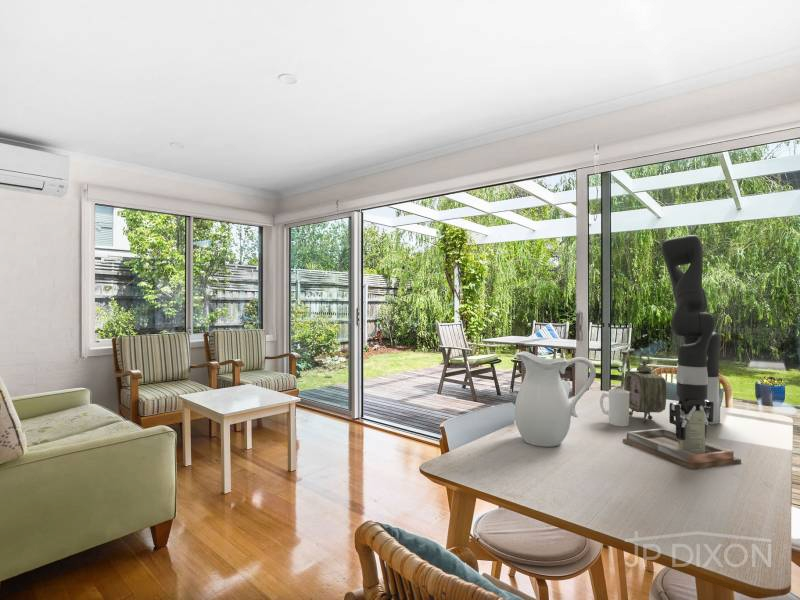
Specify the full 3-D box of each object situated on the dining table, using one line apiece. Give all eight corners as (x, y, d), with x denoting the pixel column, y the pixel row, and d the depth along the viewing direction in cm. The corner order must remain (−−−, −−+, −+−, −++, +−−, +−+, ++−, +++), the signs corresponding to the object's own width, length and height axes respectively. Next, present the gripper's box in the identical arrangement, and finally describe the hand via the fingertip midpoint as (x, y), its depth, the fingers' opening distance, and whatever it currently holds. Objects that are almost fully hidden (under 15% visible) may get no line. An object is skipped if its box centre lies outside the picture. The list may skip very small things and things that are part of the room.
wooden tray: (667, 436, 149) (667, 427, 149) (741, 462, 126) (741, 452, 126) (622, 441, 144) (622, 432, 144) (691, 469, 121) (691, 458, 121)
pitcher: (509, 445, 139) (510, 355, 139) (519, 430, 155) (520, 349, 154) (593, 457, 129) (594, 360, 129) (596, 440, 144) (596, 353, 144)
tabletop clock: (623, 414, 177) (624, 350, 177) (647, 414, 177) (648, 350, 177) (641, 424, 163) (642, 355, 163) (667, 425, 163) (668, 355, 162)
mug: (631, 424, 164) (632, 391, 163) (625, 428, 159) (626, 393, 159) (603, 418, 170) (603, 387, 170) (596, 422, 166) (596, 389, 166)
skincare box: (702, 451, 131) (703, 409, 131) (705, 455, 127) (706, 412, 127) (676, 447, 134) (677, 406, 134) (678, 452, 130) (679, 409, 130)
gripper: (699, 377, 136) (698, 432, 136) (661, 380, 132) (660, 436, 132) (723, 382, 129) (722, 440, 129) (684, 385, 125) (683, 444, 125)
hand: (691, 438), depth 130 cm, fingers closed on skincare box, 7 cm apart
